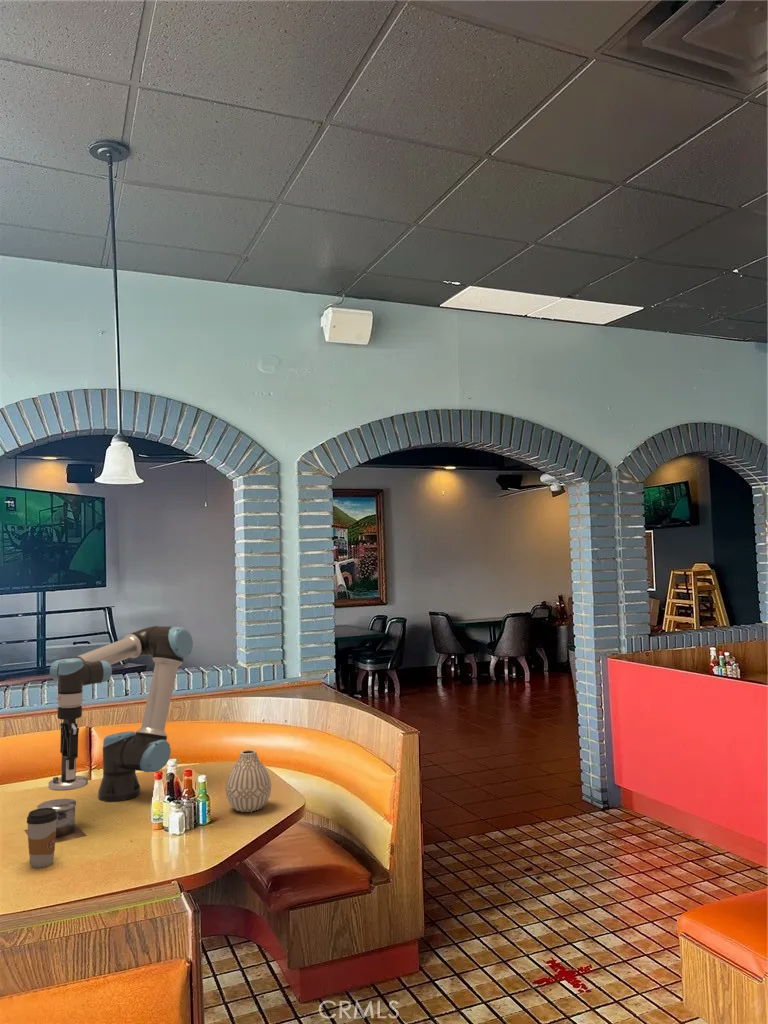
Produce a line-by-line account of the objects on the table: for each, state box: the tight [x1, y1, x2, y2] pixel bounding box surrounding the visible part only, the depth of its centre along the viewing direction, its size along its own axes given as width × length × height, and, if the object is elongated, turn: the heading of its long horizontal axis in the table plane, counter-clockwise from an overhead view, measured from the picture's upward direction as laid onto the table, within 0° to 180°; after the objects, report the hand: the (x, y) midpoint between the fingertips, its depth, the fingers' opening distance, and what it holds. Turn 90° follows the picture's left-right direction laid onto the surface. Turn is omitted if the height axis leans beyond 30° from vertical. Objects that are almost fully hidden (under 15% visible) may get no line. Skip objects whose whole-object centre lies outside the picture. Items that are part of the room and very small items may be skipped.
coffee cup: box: [26, 808, 57, 869], centre depth 228 cm, size 8×8×15 cm
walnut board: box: [23, 823, 88, 844], centre depth 251 cm, size 15×19×1 cm
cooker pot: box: [37, 798, 77, 838], centre depth 251 cm, size 16×12×9 cm
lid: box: [48, 755, 89, 792], centre depth 255 cm, size 12×12×10 cm
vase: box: [225, 749, 272, 813], centre depth 274 cm, size 16×16×20 cm
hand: (68, 777), depth 255 cm, fingers closed on lid, 4 cm apart
